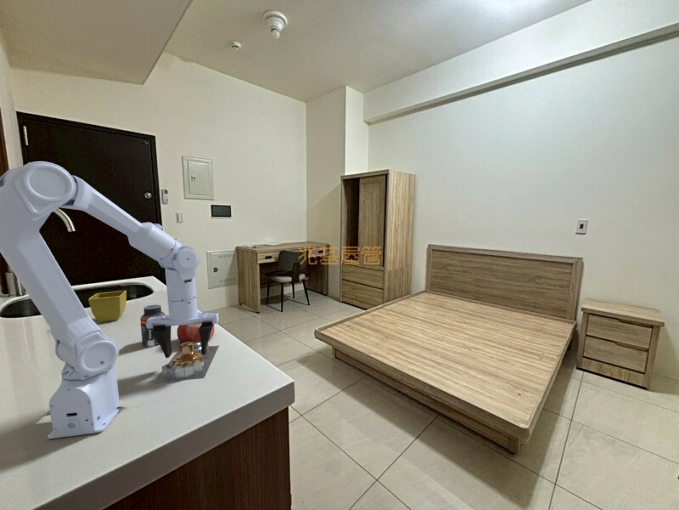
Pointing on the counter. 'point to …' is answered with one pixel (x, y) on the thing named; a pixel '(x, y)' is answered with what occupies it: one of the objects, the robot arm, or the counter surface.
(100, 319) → the flower pot
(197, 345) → the sun gear
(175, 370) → the ring gear segment
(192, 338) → the fruit
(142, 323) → the supplement bottle
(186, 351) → the planet gear
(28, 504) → the counter surface
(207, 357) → the carrier plate
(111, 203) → the robot arm
